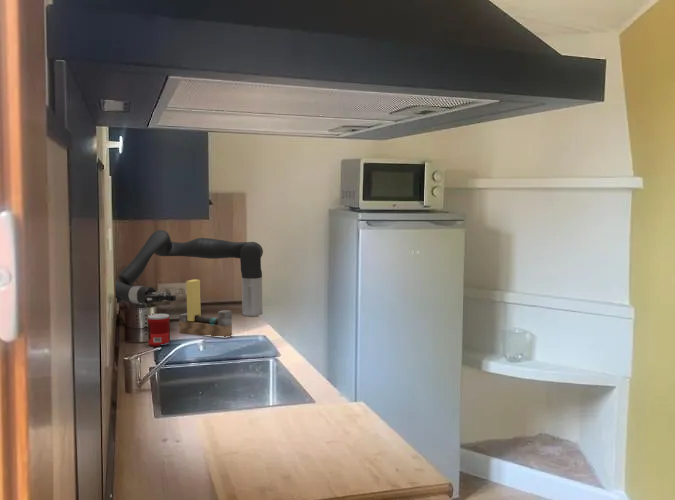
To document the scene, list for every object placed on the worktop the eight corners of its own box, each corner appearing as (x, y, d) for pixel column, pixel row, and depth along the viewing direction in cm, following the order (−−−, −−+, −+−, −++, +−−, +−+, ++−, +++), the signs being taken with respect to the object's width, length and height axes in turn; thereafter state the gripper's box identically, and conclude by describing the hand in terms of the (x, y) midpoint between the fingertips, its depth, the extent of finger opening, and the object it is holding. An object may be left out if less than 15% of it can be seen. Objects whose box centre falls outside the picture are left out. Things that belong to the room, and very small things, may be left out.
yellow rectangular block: (187, 320, 267) (186, 281, 265) (195, 318, 271) (194, 279, 270) (193, 321, 266) (192, 281, 264) (200, 319, 270) (199, 279, 268)
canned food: (174, 343, 252) (173, 315, 251) (155, 347, 246) (154, 318, 245) (163, 340, 257) (162, 312, 256) (144, 344, 251) (143, 315, 250)
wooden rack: (179, 332, 270) (178, 307, 269) (186, 330, 274) (185, 305, 273) (225, 338, 260) (224, 312, 258) (231, 336, 263) (231, 310, 262)
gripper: (153, 301, 286) (185, 304, 278) (131, 306, 274) (163, 310, 267) (153, 283, 285) (184, 287, 277) (130, 288, 273) (163, 292, 266)
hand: (174, 298), depth 272 cm, fingers closed
